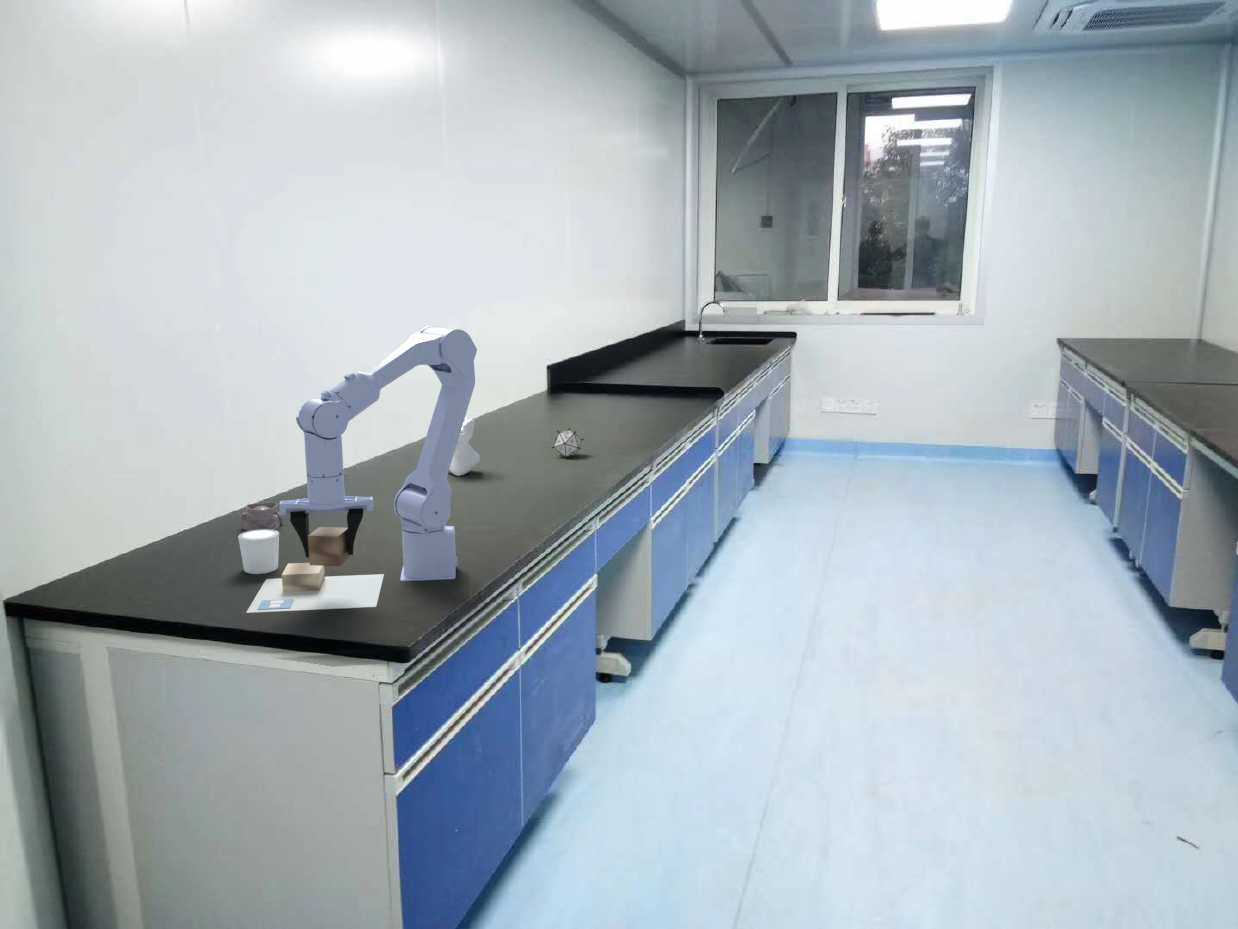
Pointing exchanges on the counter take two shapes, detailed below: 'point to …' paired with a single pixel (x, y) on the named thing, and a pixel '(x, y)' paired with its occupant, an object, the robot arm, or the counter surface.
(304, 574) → the maple base block
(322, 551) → the walnut block
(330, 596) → the plate
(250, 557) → the white tapered cup
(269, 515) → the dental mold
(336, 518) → the counter surface
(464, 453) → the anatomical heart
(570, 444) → the game die
